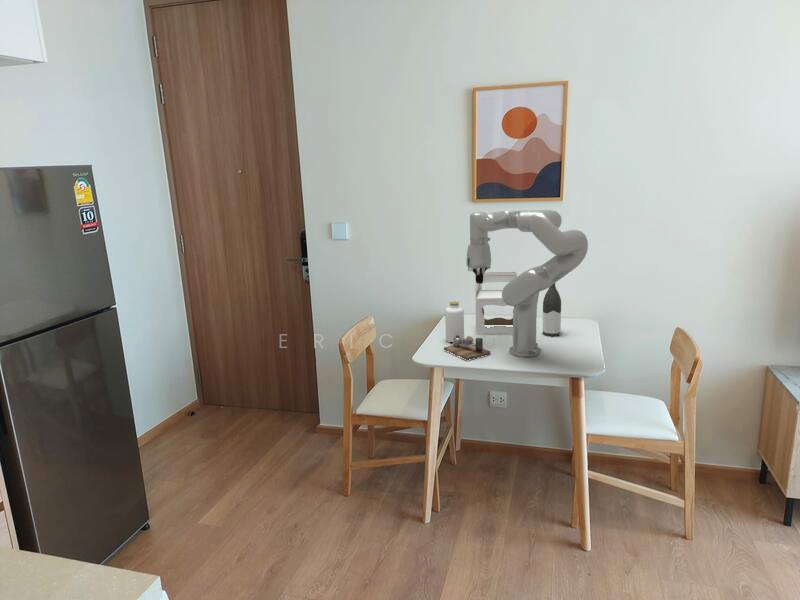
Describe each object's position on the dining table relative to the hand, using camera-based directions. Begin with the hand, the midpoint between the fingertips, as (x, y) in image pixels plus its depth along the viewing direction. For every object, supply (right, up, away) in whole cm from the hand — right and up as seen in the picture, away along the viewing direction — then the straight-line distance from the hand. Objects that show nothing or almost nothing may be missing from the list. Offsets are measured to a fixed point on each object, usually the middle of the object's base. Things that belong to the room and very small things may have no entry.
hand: (479, 283), depth 247 cm
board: (-6, -30, -6) cm, 31 cm away
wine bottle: (+35, -23, +13) cm, 44 cm away
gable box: (+12, -22, +22) cm, 34 cm away
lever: (-6, -28, -6) cm, 29 cm away
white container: (-10, -26, +10) cm, 30 cm away
